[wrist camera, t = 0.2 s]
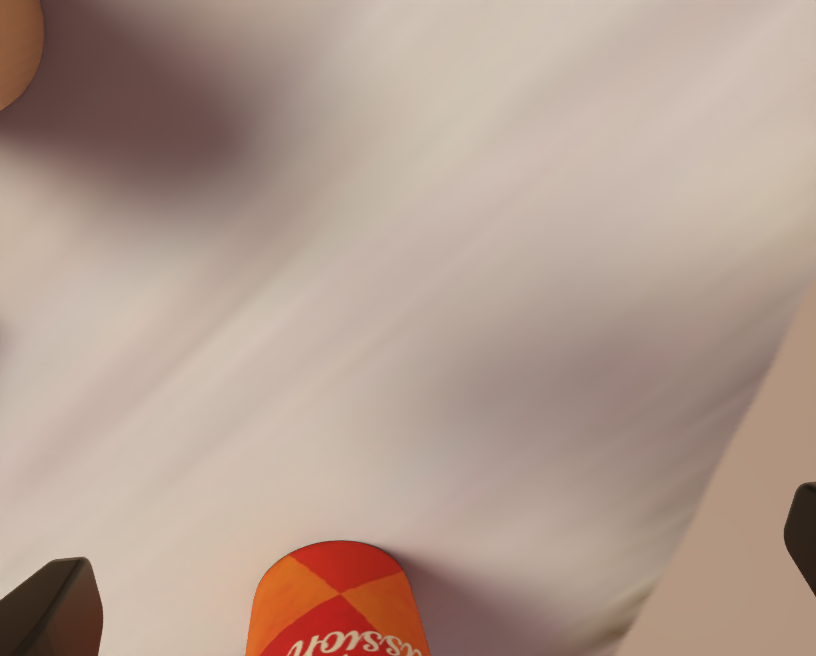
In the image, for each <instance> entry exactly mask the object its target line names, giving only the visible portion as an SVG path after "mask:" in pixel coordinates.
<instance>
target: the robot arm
mask: <svg viewBox="0 0 816 656" xmlns="http://www.w3.org/2000/svg"><path fill="white" fill-rule="evenodd" d="M784 540H785V545H786V547H787V550H788V552H789V554H790V555H791V557H792V559H793V560H794V562H795V564H796V565H797V567H798V568H799V570H800V572H801V573H802V575H803V576H804V578H805V580H806V581H807V583H808V585H809V586H810V588H811V590H812V591H813V593H814V595H815V596H816V482H809V483H804V484H802V485H800V486H799V487H798V489H797V490H796V492H795V496H794V499H793V502H792V505H791V508H790V511H789V514H788V518H787V521H786V524H785V528H784ZM102 629H103V607H102V602H101V599H100V595H99V591H98V587H97V584H96V580H95V576H94V572H93V569H92V565H91V563H90V561H89V560H88V559H87V558H85V557H74V558H64V559H56V560H52V561H51V562H49V563H47V564H46V565H45V566H43V567H42V568H41V569H40V570H38V571H37V572H36V573H34V574H33V575H32V576H31V577H29V578H28V579H27V580H26V581H24V582H23V583H22V584H20V585H19V586H18V587H17V588H15V589H14V590H13V591H12V592H10V593H9V594H8V595H6V596H5V597H4V598H3V599H1V600H0V656H98V652H99V647H100V641H101V635H102Z"/></svg>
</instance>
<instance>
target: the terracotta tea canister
mask: <svg viewBox="0 0 816 656" xmlns="http://www.w3.org/2000/svg"><path fill="white" fill-rule="evenodd" d="M43 45H44V20H43V14H42V9H41V4H40V1H39V0H0V111H1V110H2V109H4V108H5V107H7V106H8V105H10V104H11V103H12V102H13V101H15V100H16V99H17V98H18V97H19V96H20V95H21V94H22V93H23V92H24V90H25V89H26V88H27V87H28V86H29V84H30V82H31V81H32V79H33V77H34V76H35V74H36V71H37V69H38V66H39V64H40V60H41V56H42V52H43Z"/></svg>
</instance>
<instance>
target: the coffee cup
mask: <svg viewBox="0 0 816 656" xmlns="http://www.w3.org/2000/svg"><path fill="white" fill-rule="evenodd" d="M245 656H431V654H430V651H429V647H428V644H427V640H426V637H425V633H424V630H423V626H422V622H421V619H420V616H419V612H418V609H417V606H416V602H415V599H414V596H413V593H412V590H411V587H410V584H409V581H408V579H407V577H406V574H405V572H404V571H403V569H402V567H401V566H400V565H399V564H398V562H397V561H396V560H395V559H393V558H392V557H391V556H390V555H388V554H387V553H385V552H384V551H382V550H380V549H378V548H375V547H373V546H370V545H367V544H363V543H358V542H352V541H328V542H321V543H316V544H312V545H309V546H306V547H303V548H300V549H298V550H296V551H293V552H291V553H290V554H288V555H286V556H284V557H283V558H281V559H280V560H279V561H277V562H276V563H275V564H274V565H273V566H272V567H271V568H270V569H269V570H268V571H267V572H266V573H265V575H264V576H263V577H262V579H261V581H260V583H259V585H258V587H257V590H256V593H255V597H254V601H253V606H252V612H251V618H250V626H249V633H248V640H247V647H246V655H245Z"/></svg>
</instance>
